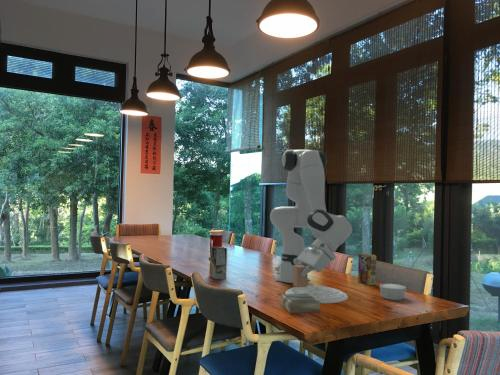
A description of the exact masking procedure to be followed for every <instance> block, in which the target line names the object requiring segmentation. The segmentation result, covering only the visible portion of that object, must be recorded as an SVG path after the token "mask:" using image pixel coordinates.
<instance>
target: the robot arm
mask: <svg viewBox="0 0 500 375" xmlns="http://www.w3.org/2000/svg"><path fill="white" fill-rule="evenodd" d="M327 161H328V160H327V156H326V153H325V152H324V151H322V150H314V149H306V148H304V149H287V150H285V151H284V152H283V155H282V156H281V164H282V167H283V169H284V170H286V171H287V176H286V177H287V179H286V186H285V187H286V188H285V195H286V197H287V198H288V199H289V200H291V201H292V202H294V203H295V205H294V206H283V205H282V206H277V207H274V208H273V209H272V210H271V211H270V214H269V219H270V222H271V225H273V226H274V227H275V228H276V229H277V231H278V232H279V234H280V235H281V239H282V253H281V256H280V257H281V258H280V259H281V260H280V262H279V263H278V265H277V266H275V267H274V270H275V273H273V274H272V276H273V279H274V281H276V282H283V283H288V284H289V283H290V284H293V265H305V266H307V268H305V269H304V270H302V271H301V272H300V274H301V276H303V277H304V276H305V275H306V274H307V273H308V274H309V273H311V272H312V271H315V272H317V273H320V272H322V271H324V270H325V268H326V267H327V266H329V264H330V263H331V262H332V261H335V259H336V258H337V256H336V254H335V252H336V251H337V250H338V248H339V247H340V246H341V245H343V244H344V243H345V242H346V240H347V239H348V238H349V237H350V236H351V234H352V233H353V225H352V223H351V221H350V220H349V219H348V218H347V216H345V215H343V214H342V215H341V214H339V215H336V214H333V213H329V212H327V206H326V202H325V201H326V200H325V199H326V198H325V192H326V191H325V190H326V188H325V186H326V184H325V182H326V181H325V180H326V178H325V169H326V167H327ZM295 228H309V230H310V234H311V238H312V239H313V242H312V243H311V247H309V246H308V247H306V248H305V240H304V238H303V237H302V235H300V234H298V233H296V232H295V231H294V230H295ZM308 274H307V275H308ZM308 281H310V277H308V276H307V282H308Z"/></svg>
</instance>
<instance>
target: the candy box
mask: <svg viewBox="0 0 500 375" xmlns="http://www.w3.org/2000/svg"><path fill="white" fill-rule="evenodd" d="M357 264H358V267H357V268H358V270H357V282H358V283H361V284H364V285H369V286H376V282H377V281H376V280H377V276H376V275H377V255H376V254H370V253H365V252H360V253H358V263H357Z"/></svg>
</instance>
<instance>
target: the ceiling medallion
mask: <svg viewBox="0 0 500 375" xmlns="http://www.w3.org/2000/svg"><path fill="white" fill-rule="evenodd" d="M284 294H310V295H311V296H313V297H314V298H316V299H317V300H319V301H320V304H335V303H337V304H338V303H342V302H345V301H347V300H348V299H349V296H348V294H346V293H345V292H344V291H342V290H340V289H337V288H334V287H329V286H325V285H308V284H307V287H295V286H293V287H291V288H289V289H286V291H285V293H284Z"/></svg>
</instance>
